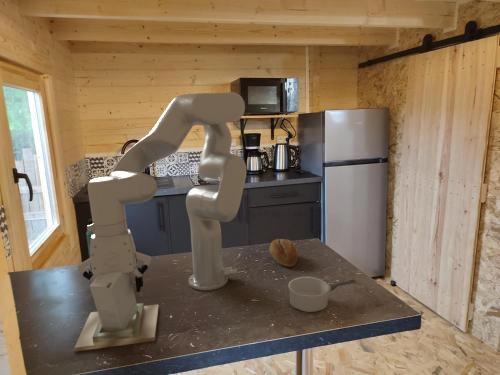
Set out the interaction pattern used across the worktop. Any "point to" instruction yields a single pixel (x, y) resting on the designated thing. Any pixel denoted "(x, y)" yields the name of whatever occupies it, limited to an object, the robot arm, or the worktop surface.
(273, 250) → the bread roll
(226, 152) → the robot arm
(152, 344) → the worktop surface
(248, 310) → the worktop surface
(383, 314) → the worktop surface
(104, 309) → the skincare box
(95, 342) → the nest board
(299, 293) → the saucepan
